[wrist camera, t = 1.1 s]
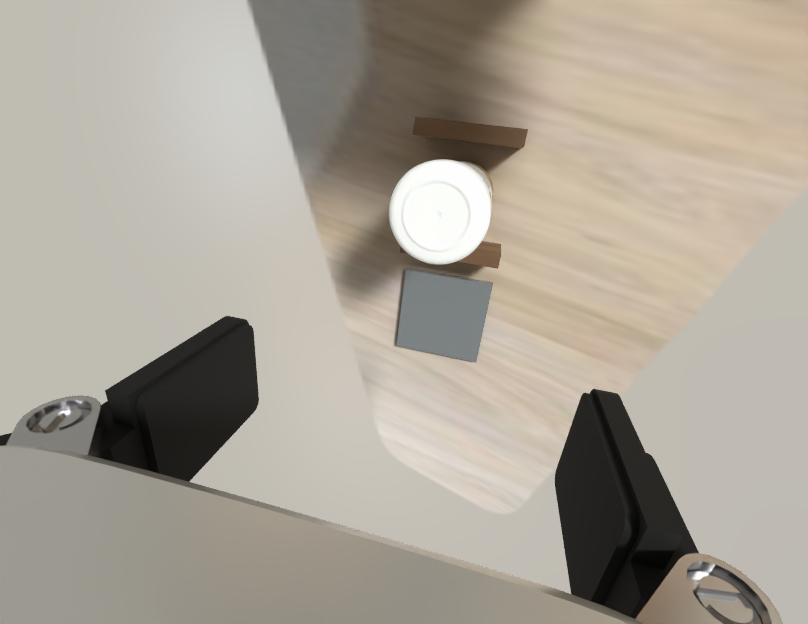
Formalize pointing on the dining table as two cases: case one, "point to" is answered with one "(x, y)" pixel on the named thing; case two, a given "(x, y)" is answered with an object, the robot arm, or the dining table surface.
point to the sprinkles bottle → (441, 210)
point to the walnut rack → (479, 134)
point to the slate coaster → (443, 314)
